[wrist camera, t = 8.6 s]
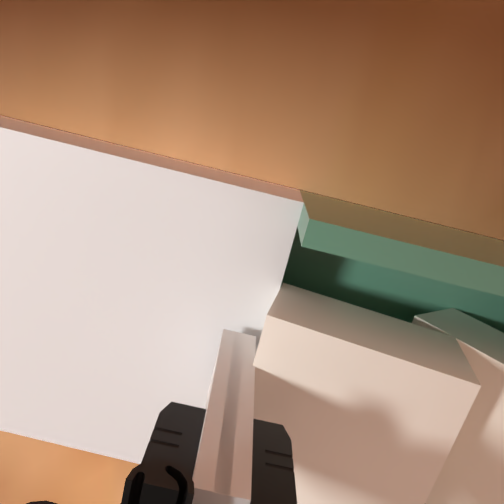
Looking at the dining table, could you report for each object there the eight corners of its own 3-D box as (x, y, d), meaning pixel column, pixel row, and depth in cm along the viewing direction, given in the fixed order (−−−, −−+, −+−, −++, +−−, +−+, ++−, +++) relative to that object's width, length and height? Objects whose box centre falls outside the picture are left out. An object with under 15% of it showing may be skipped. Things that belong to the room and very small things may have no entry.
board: (-94, 353, 20) (-158, 392, 17) (-98, 90, 16) (-179, 82, 13) (233, 433, 20) (225, 484, 17) (299, 189, 16) (304, 202, 13)
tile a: (244, 418, 16) (222, 474, 14) (283, 282, 15) (266, 314, 12) (394, 475, 16) (403, 547, 13) (455, 336, 14) (481, 386, 11)
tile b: (521, 590, 12) (551, 543, 14) (619, 427, 11) (639, 400, 12) (363, 447, 17) (402, 426, 18) (414, 315, 15) (452, 307, 17)
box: (233, 433, 20) (216, 543, 14) (299, 189, 16) (309, 218, 11) (474, 492, 20) (545, 622, 15) (592, 262, 16) (740, 326, 11)
